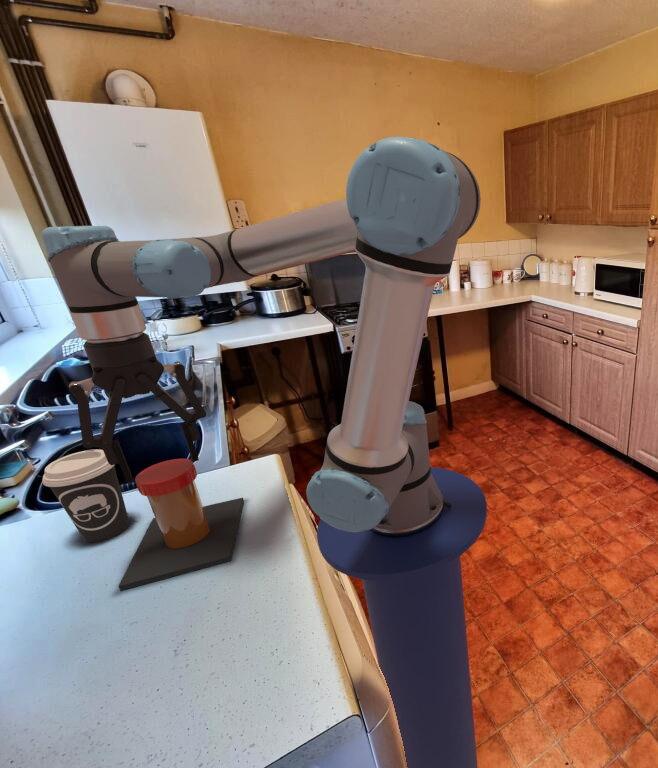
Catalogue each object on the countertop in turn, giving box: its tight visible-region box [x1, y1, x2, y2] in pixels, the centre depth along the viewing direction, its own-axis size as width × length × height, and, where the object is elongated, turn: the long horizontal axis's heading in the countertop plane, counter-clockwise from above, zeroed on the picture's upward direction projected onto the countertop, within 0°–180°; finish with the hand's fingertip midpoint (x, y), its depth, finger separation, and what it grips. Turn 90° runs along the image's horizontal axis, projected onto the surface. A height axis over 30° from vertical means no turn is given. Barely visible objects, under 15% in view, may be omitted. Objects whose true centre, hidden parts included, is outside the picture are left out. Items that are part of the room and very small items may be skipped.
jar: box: [146, 480, 210, 549], centre depth 76 cm, size 7×7×13 cm
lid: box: [134, 458, 198, 497], centre depth 74 cm, size 8×8×2 cm
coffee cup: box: [42, 449, 131, 543], centre depth 79 cm, size 10×10×15 cm
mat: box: [118, 497, 245, 592], centre depth 78 cm, size 15×18×1 cm
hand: (163, 467), depth 73 cm, fingers open, 8 cm apart
